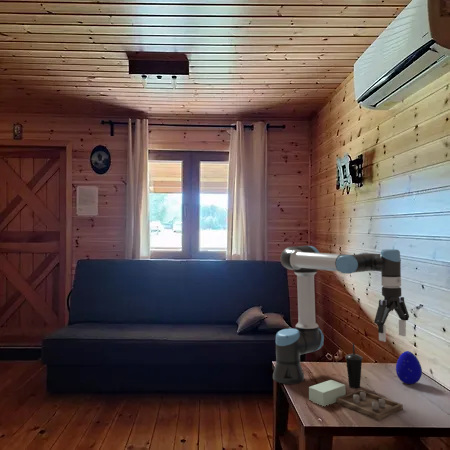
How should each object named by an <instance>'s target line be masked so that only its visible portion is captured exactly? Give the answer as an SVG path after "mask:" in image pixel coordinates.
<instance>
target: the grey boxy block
mask: <svg viewBox="0 0 450 450" xmlns="http://www.w3.org/2000/svg"><path fill="white" fill-rule="evenodd" d="M346 390H347V388H346V384H344V383H341V382H338V381H336V380H332V379H329V380H326V381H323V382H320V383H317V384H314V385H311V386H308V401H309V400H311V401H313V402H312V403H314V402H315V403H314V404H316V403H317V405H318V404H319V405H318V406H320V405H322V406H321V407H323V406H324V407H327V406H330V405H332V404H334V403H337V398H339V397H342V396H344V395H347V393H346V392H347V391H346ZM311 401H310V402H311ZM329 404H330V405H329ZM326 405H327V406H326Z"/></svg>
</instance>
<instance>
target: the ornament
mask: <svg viewBox="0 0 450 450" xmlns="http://www.w3.org/2000/svg"><path fill="white" fill-rule="evenodd" d="M422 369H423V368H422V366H421V362H420V360H419V359H418V357H417V356H416V355H415V354H414V353H413V352H411V351H409V350H406V351H404V352H402V353H400V355H399V357H398V359H397V360H396V364H395V372H396V376H397V377H398V379H399V380H400V382H402V383H404V384H407V385H414V384H416V383H418V382H419V381H420V380H421V377H422V374H423V370H422Z"/></svg>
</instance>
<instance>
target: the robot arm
mask: <svg viewBox="0 0 450 450" xmlns="http://www.w3.org/2000/svg"><path fill="white" fill-rule="evenodd" d="M280 263H281V265H282V266H283V267H284V268H285V269H288V270H289V271H290V270H291V271H293V273H294V274H295V276H296V285H297V314H298V315H297V316H298V317H297V318H298V322H297V323H296V324H295V328H283V329H281V330H279V331H277V332H276V334H275V356H276V357H275V358H276V359H275V362H276V363H275V366H274V369H273V370H274V371H273V373H272V380H273V381H275V382H276V383H279V384H284V385H296V384H300V383H303V382H304V381H305V374H304V371H303V368H302V365H301V355H304V354H309V353H315V352H316V351H318V350H320V349H321V348H323V346H324V340H325V336H324V333H323V332H322V329H320V327H319V324H318V323H317V322H316V298H315V297H316V295H315V293H316V292H315V275H316V274H317V273H318V270H320V271H328V272H330V271H331V272H340V273H341V274H347V275H348V274H354V273H355V274H356V273H363V272H380V273H381V274H380V275H381V277H380V278H381V286H382V287H381V296H382V297H384V299H379V300H378V307H377V309H376V310H377V311H376V314H375V318H374V322H373V323H374V324H375V325H377V329H378V330H377V331H378V341H380V342H384V343H385V342H387V337H386V336H387V332H386V331H387V330H386V329H387V325H386V321H387V319H388V316H389V314H390V312H392V311H393V310H394V311H395V313H396V315H397V316H398V318H399V319H398V336H400V337H401V336H402V337H407V331H406V330H407V329H406V328H407V321H409V318H410V315H409V314H410V313H409V312H408V309H407V308H408V307H407V306H406V303H405V297H404V296H402V287H401V286H402V277H401V276H402V275H401V274H402V273H401V272H402V271H401V270H402V269H401V268H402V266H401V265H402V264H401V263H402V259H401V251H400V250H399V249H394V248H392V249H390V248H387V249H382V250H381V251H380V253H370V252H369V253H368V252H361V253H358V254H341V253H339V254H338V253H325V252H320V251H319V250H318V249H317V248H316V247H315V246H314V245H313V246H312V245H299V246H288V247H286V248H284V249H283V250H282V251H281V253H280Z"/></svg>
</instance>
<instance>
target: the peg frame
mask: <svg viewBox="0 0 450 450" xmlns="http://www.w3.org/2000/svg"><path fill="white" fill-rule="evenodd" d="M336 404H338V405H340V406H342V407H345V408H348V409H350V410H353V411H355V412H357V413H359V414H361V415H365V416H367V417H368V418H371V419H374V420H375V421H379V422H380V421H381V420H384V419H386V418H388V417H390V416H392V415H394V414H397V413H398V412H400V411H403V410H404V409H403V408H404V406H403V403H400V402H396V401H394V400H391V399H388V398H385V397H382V396H380V395H378V394H375V393H372V392H369V391H366V390H363V389H362V388H361V389H360V388H359V389H358V390H355V391H353V392H350V393H346V395H344V396H342V397H339V398H337V402H336Z"/></svg>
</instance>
